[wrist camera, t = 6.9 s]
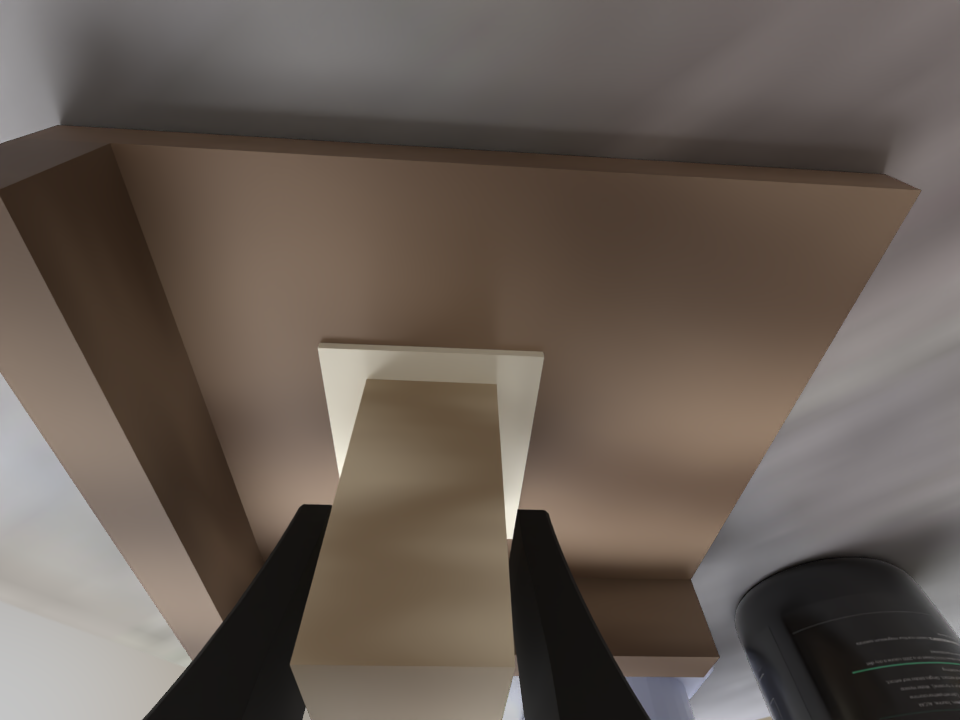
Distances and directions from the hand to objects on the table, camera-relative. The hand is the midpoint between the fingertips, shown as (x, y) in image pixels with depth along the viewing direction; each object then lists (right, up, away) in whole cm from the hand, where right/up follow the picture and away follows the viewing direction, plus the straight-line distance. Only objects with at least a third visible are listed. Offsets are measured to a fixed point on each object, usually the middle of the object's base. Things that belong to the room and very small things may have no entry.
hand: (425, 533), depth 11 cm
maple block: (0, +1, +2) cm, 2 cm away
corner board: (+1, +2, +3) cm, 4 cm away
